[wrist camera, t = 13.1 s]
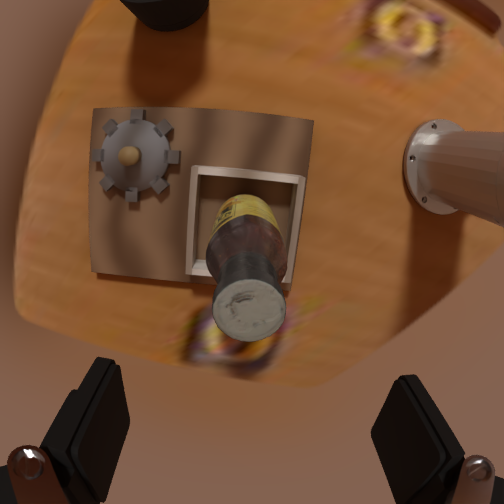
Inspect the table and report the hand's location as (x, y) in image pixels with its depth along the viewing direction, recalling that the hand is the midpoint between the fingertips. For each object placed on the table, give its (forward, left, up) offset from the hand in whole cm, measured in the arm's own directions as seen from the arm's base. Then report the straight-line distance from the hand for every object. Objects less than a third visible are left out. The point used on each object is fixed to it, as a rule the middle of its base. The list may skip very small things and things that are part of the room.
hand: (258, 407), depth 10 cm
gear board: (+6, -2, -29) cm, 30 cm away
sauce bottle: (0, 0, -28) cm, 28 cm away
